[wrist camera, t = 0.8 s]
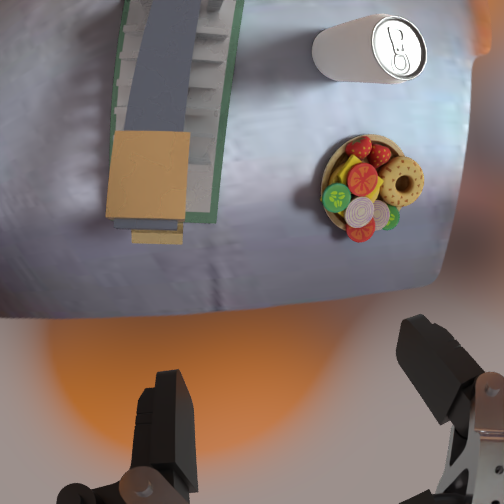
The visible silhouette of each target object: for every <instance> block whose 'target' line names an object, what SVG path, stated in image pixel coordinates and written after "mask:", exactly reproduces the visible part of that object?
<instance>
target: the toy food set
mask: <svg viewBox="0 0 504 504" xmlns="http://www.w3.org/2000/svg"><path fill="white" fill-rule="evenodd" d="M423 186H424V175H423V172H422V169H421V167H420V166H419V165H418V164H417V163H416V162H415V161H414V160H412V159H411V158H409V157H405V156H404V154H403V152H402V150H401V149H400V148H399V146H398V145H397V144H396V143H394V142H393V141H392V140H390V139H388V138H386V137H384V136H380V135H374V134H368V135H361V136H358V137H355V138H353V139H351V140H349V141H347V142H346V143H344V144H343V145H342V146H341V147H339V148H338V149H337V150H336V152H335V153H334V154H333V155H332V157H331V158H330V160H329V162H328V163H327V165H326V168H325V170H324V173H323V177H322V182H321V198H320V201H321V202H322V203H323V206H324V209H325V211H326V213H327V215H328V217H329V218H330V220H331V221H332V222H333V223H334V224H335V225H336V226H338V227H339V228H341V229H343V230H345V231H346V232H347V235H348V237H349V238H350V239H351V240H353V241H355V242H364V241H367V240H368V239H369V238H370V237H371V236H372V235H373V233H374V231H375V230H380V229H383V230H391V229H393V228H394V227H396V225H397V224H398V222H399V218H400V214H399V211H400V209H401V207H403V206H407V205H409V204H411V203H413V202H414V201H415V200H416V199H417V198H418V197H419V195H420V194H421V192H422V189H423Z"/></svg>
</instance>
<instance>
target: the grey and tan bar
mask: <svg viewBox="0 0 504 504" xmlns="http://www.w3.org/2000/svg"><path fill="white" fill-rule="evenodd" d="M200 6H201V0H153V2H152V6H151V9H150V12H149V16H148V19H147V23H146V26H145V30H144V34H143V37H142V41H141V45H140V49H139V53H138V58H137V62H136V66H135V71H134V75H133V80H132V85H131V90H130V95H129V101H128V106H127V112H126V118H125V124H124V130H123V131H115V135H114V141H113V148H112V156H111V164H110V172H109V182H108V192H107V204H106V218H108V219H110V220H114V228H116V229H135V230H173V231H177V227H178V221H180V222H185V209H186V189H187V173H188V158H189V145H190V133H191V132H184V124H185V114H186V104H187V95H188V87H189V79H190V71H191V63H192V56H193V49H194V42H195V36H196V30H197V23H198V17H199V12H200Z"/></svg>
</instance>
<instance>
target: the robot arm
mask: <svg viewBox="0 0 504 504" xmlns="http://www.w3.org/2000/svg"><path fill="white" fill-rule="evenodd" d="M396 356H397V361H398V363H399V365H400V366H401V368H402V369H403V371H404V372H405V374H406V375H407V376H408V378H409V379H410V381H411V382H412V384H413V385H414V387H415V388H416V390H417V391H418V393H419V394H420V396H421V397H422V399H423V400H424V402H425V403H426V405H427V406H428V407H429V409H430V411H431V412H432V414H433V415H434V417H435V418H436V420H437V421H438V423H439V424H440V425H442V424H444V423H446V422H448V421H451V422H452V423H453V425H452V427H451V432H450V440H449V446H448V452H447V458H446V464H445V469H444V473H443V475H442V477H441V479H440V481H439V484H438V486H437V489H436V493H435V494H431V492H430V490H429V489H428V490H426V491H424V492H422V493H420V494H418V495H416V496H414V497H412V498H410V499H408V500H405V501H403V502H401V503H399V504H504V377H503V376H502V375H501V374H499V373H496V372H485V371H484V370H483V369H482V368H481V367H480V366H479V365H478V364H477V363H476V361H475V360H474V359H473V358H472V357H471V356H470V355H469V353H468V352H467V351H466V350H465V349H464V348H463V347H461V345H460V344H459V342H458V341H457V340H454V337H453V336H452V335H451V334H450V333H449V332H448V331H447V330H446V329H445V328H443V327H441V326H439V325H437V324H436V323H434V324H431V323H430V321H429V320H428V319H427V318H426V317H425V316H424V315H422V314H419V315H416V316H413V317H410V318H407V319H404V320H403V321H402V323H401V327H400V332H399V337H398V342H397V347H396ZM135 424H136V426H135V430H134V439H133V449H132V460H131V466H130V469H129V470H128V471H127V472H126V473H125V474H124V475H123V476H122V478H121V480H120V481H118V482H116V483H114V484H111V485H107V486H103V487H99V488H95V489H90V488H89V487H87V486H85V485H83V484H80V483H73V484H69V485H67V486H65V487H64V488H63V489H62V490H61V491H60V493H59V494H58V497H57V503H56V504H190V500H189V493H195V492H198V481H197V465H196V448H195V425H194V408H193V403H192V399H191V396H190V394H189V391H188V389H187V387H186V384H185V382H184V379H183V377H182V374H181V372H180V370H179V369H177V370H169V371H162V372H157V374H156V382H155V387H154V388H146V389H145V390H144V392H143V393H142V395H141V396H140V398H139V400H138V405H137V416H136V422H135Z"/></svg>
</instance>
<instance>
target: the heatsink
mask: <svg viewBox="0 0 504 504" xmlns="http://www.w3.org/2000/svg"><path fill="white" fill-rule="evenodd" d="M152 2H153V0H125V2H124V8H123V13H122V19H121V25H120V31H119V38H118V45H117V53H116V61H115V70H114V80H113V91H112V105H111V123H110V163H109V171H110V164H111V156H112V148H113V141H114V135H115V131H123V130H124V124H125V118H126V112H127V106H128V101H129V95H130V90H131V85H132V80H133V75H134V71H135V66H136V62H137V58H138V53H139V49H140V45H141V41H142V37H143V34H144V30H145V26H146V23H147V19H148V16H149V12H150V9H151V6H152ZM243 6H244V0H201V6H200V12H199V17H198V23H197V30H196V36H195V42H194V49H193V56H192V63H191V71H190V79H189V87H188V95H187V104H186V114H185V124H184V132H191V133H190V145H189V158H188V173H187V189H186V209H185V222H190V223H216V220H217V209H218V199H219V189H220V180H221V170H222V161H223V152H224V143H225V135H226V126H227V118H228V110H229V102H230V95H231V87H232V80H233V72H234V65H235V58H236V51H237V45H238V38H239V31H240V25H241V18H242V12H243ZM111 221H114V220H111ZM131 232H132V243H147V244H182V238H183V222H180V221H178V227H177V231H173V230H135V229H131Z"/></svg>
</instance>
